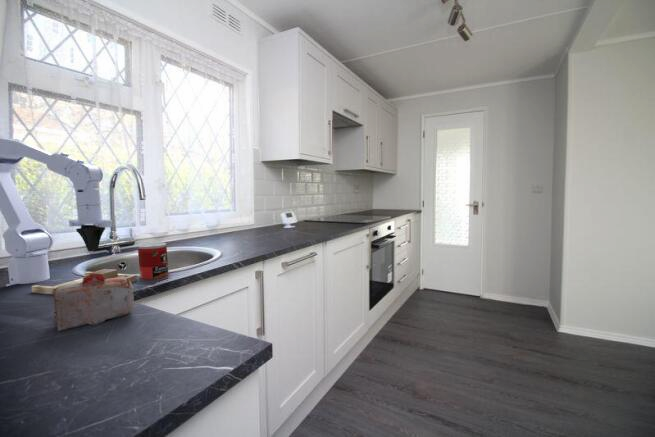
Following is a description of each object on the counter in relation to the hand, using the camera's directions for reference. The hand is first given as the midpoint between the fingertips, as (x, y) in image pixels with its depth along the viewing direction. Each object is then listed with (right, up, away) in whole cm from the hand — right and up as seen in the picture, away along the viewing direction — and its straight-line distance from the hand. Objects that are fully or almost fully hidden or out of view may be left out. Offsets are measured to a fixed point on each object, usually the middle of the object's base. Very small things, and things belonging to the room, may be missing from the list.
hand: (93, 250), depth 95 cm
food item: (+20, -12, -26) cm, 35 cm away
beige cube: (+9, -9, -8) cm, 15 cm away
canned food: (+17, -10, +4) cm, 19 cm away
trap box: (+2, -10, -6) cm, 12 cm away
